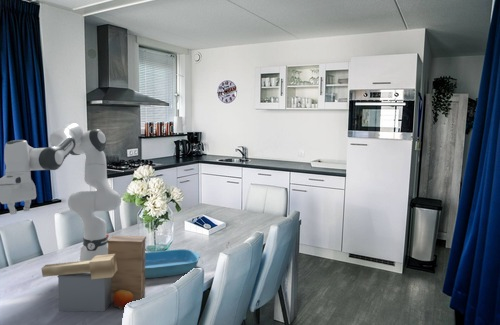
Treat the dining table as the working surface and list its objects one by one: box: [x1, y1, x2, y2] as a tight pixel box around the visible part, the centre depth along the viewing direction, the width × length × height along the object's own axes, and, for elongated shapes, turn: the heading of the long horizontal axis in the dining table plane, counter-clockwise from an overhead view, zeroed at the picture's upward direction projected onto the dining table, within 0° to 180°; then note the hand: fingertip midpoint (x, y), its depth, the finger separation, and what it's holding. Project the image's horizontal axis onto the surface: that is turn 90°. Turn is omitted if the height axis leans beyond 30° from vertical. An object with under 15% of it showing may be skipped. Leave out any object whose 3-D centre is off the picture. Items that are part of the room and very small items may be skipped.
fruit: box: [112, 290, 134, 311], centre depth 150 cm, size 8×8×8 cm
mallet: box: [41, 254, 117, 279], centre depth 144 cm, size 7×28×7 cm
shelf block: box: [107, 234, 147, 301], centre depth 158 cm, size 7×14×26 cm, turn 93°
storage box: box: [57, 272, 112, 312], centre depth 148 cm, size 8×18×14 cm, turn 93°
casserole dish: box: [145, 248, 201, 279], centre depth 188 cm, size 37×22×7 cm, turn 115°
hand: (20, 212), depth 149 cm, fingers open, 8 cm apart
